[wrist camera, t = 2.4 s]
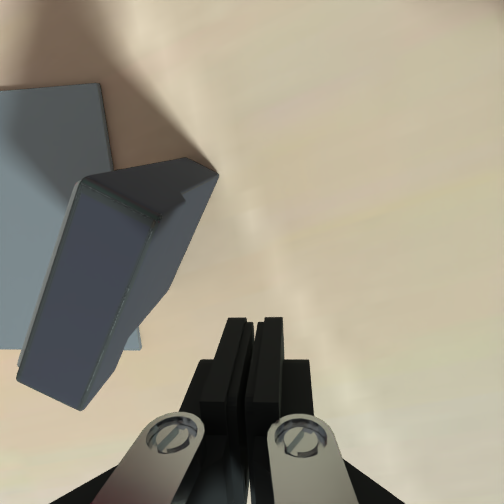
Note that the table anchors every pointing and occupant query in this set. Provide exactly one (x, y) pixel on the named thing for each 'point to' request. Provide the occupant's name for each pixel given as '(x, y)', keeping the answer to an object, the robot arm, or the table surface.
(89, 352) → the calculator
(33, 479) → the table surface
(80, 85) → the mat
